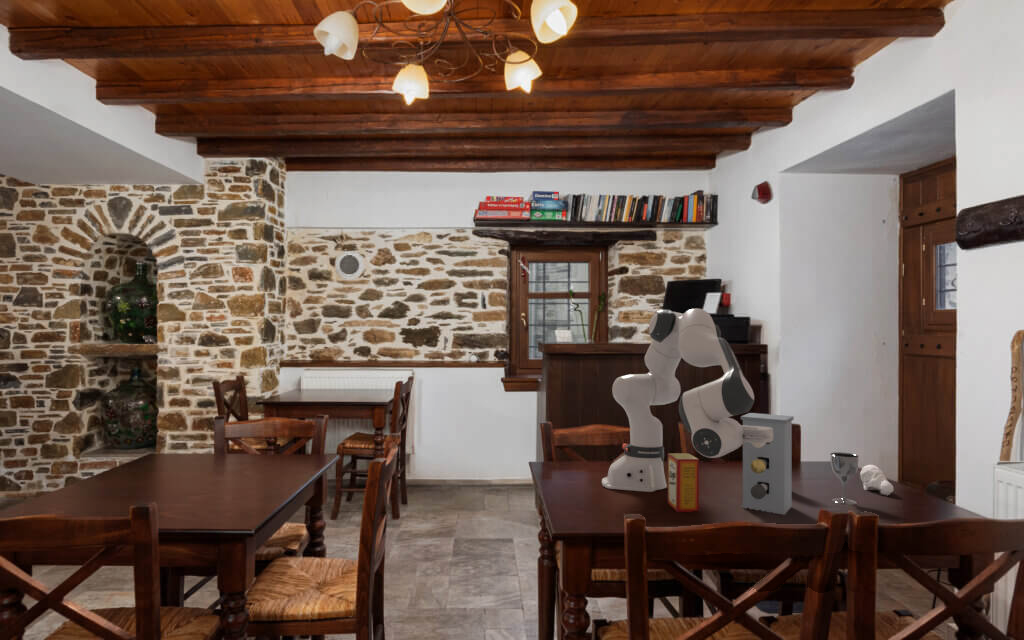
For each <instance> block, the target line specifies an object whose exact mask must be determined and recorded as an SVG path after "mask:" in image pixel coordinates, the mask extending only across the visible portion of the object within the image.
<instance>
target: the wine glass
mask: <svg viewBox="0 0 1024 640" xmlns="http://www.w3.org/2000/svg"><path fill="white" fill-rule="evenodd" d="M859 460H860V459H859V455H858V454H854V453H851V452H842V451H840V452H839V451H835V452H831V453H830V464H831V465H830V466H831V469H832V472H833V473H834V474H835V476H836V477H837V478H838V479H839V480H840V482H841V486H842V497H841V498H832V499H831V501H832V502H834V503H835V504H838V505H839V504H840V505H846V506H851V505H854V504H855V505H857V504H858V501H855V500H852V499H848V498H847V495H846V494H847V486H848V483H849V481H850V480H851V479H852V478H853V477H854V476H856V475H857V472H858V469H859ZM855 505H854V506H855Z"/></svg>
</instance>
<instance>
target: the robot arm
mask: <svg viewBox="0 0 1024 640" xmlns="http://www.w3.org/2000/svg"><path fill="white" fill-rule="evenodd" d="M648 325H649V326H648V335H649V337H650V338H651V339H652V340H651V342H650V344H649V346H648V348H647V351H646V353H645V355H644V363H645V364H644V365H645V366H646V367H647V369H648V370H649V371H648V372H647V373H637V374H636V373H634V374H631V373H629V374H625V375H621V376H619V377H617V378H615V380H614V381H613V384H612V387H611V389H612V390H611V391H612V397H613V398H614V400H615V401H616V402H617V404H619V405H620V406H621V407H622V408H623V410H624V411H625V413H626V416H627V417H628V418H627V419H628V422H629V432H630V433H629V436H630V437H629V439H630V440H629V442H630V443H623V444H622V449H623V450H624V454H623V455H622V456H621V457H619V458H618V459H617V460H615V461H613V462H612V463H611V465H610V466H609V468H608V473H607V476H606V477H603V478H602V479H601V485H602V487H603V488H604V487H605V488H606V489H609V490H610V489H611V490H623V491H634V492H647V493H651V492H655V491H657V490H663V489H666V488H668V483H667V481H666V480H667V479H666V476H665V471H664V470H665V469H664V461H665V460H664V459H665V447H664V445H663V424H662V423H663V422H661V420H660V419H659V418H657V417H656V416H654V415H653V414H652V412H651V407H650V406H660V405H661V406H662V405H663V406H664V405H667V404H671V403H674V402H676V401H678V399H679V397H680V399H679V404H678V414H679V416H680V419H681V422H682V423H683V426H684V427H685V429H686V430H687V431H688V432H689V433H690V434H691V437H690V438H691V444H692V447H693V448H694V449H695V451H696V452H697V453H699V454H700V455H701V456H702V457H706V458H711V459H714V458H715V459H717V458H720V457H724V456H725V455H727V454H729V453H732V452H734V451H735V450H738V449H739V448H740V447H741V446H743V442H750V443H768V442H771V441H773V429H772V428H770V427H760V426H747V425H743V424H741V423H739V421H737V420H736V419H734V418H731V417H734V416H738V415H742V414H743V415H744V414H745V413H746V414H748V413H750V410H751V409H752V407H753V405H754V404H755V403H754V402H755V399H756V398H755V394H754V391H753V388H752V387H751V385H750V383H749V382H748V380H747V378H746V377H745V374H744V372H743V370H742V367H741V365H740V363H739V360H738V358H737V356H736V354H735V351H734V350H733V348H732V347H731V345H730V344H729V342H728V341H727V340H726V339H725V338H724V337H722V336H721V335H722V332H721V329H720V326H718V325H717V324H715V322H714V319H713V318H712V316H711V314H710V313H709V312H708V311H706V310H704V309H702V308H697V307H696V308H691V309H688V310H686V311H685V312H684V313H681V312H676V311H672V310H671V309H659V310H657V311H655V313H654V314H653V315H652V317H651V318H650V321H649V324H648ZM681 359H682V360H683V361H685V363H687V364H689V365H691V366H694V367H698V368H707V367H713V366H721V368H722V371H723V375H722V376H721V377H719V378H718V379H714V380H713V381H710V382H707V383H705V384H701V385H700V386H697V387H694V388H692V389H690V390H687V391H684V392H682V394H681V384H680V381H679V379H678V378H676V369H678V367H679V364H680V362H681ZM680 395H681V396H680Z"/></svg>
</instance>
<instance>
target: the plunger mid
mask: <svg viewBox="0 0 1024 640" xmlns="http://www.w3.org/2000/svg"><path fill="white" fill-rule="evenodd" d="M768 464H769V459H768V458H765V457H764V458H762V459H755V460H754V461H752V463H751V469H752V471H753V472H755V473H758V474H759V473H762V472H764V471H765V469H766V466H767V465H768Z"/></svg>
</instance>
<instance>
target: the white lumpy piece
mask: <svg viewBox="0 0 1024 640" xmlns="http://www.w3.org/2000/svg"><path fill="white" fill-rule="evenodd" d="M859 476H860V480H861V482H862V484H863V485H862V486H863V489H864V491H868V490H869V489H870V488H872V489H874V490H877V491H880V495H885V496H886V497H887V496H888V495H889V496H890V495H891V494H892V492H894V486H893V484H892V483H890V482H889V480H888V479H887V477H886V475H885V474H884V472H883V471H882V470H881V469H880V468H879V467H878V466H877V465H875V464H868V465H864V466H863V467H862V469H861V471H860V472H859ZM889 496H888V497H889Z"/></svg>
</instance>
